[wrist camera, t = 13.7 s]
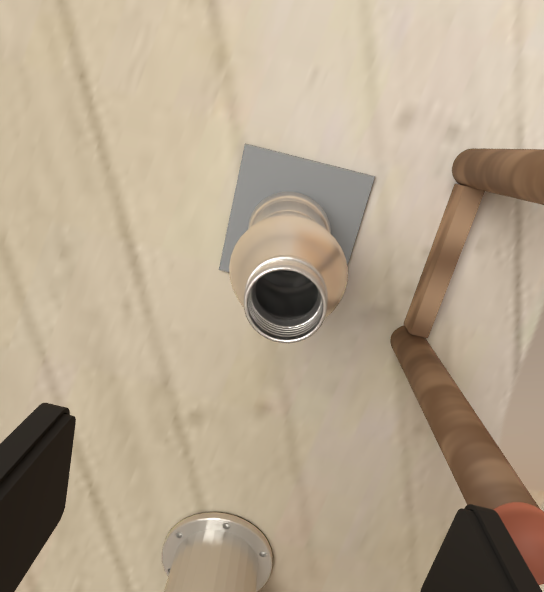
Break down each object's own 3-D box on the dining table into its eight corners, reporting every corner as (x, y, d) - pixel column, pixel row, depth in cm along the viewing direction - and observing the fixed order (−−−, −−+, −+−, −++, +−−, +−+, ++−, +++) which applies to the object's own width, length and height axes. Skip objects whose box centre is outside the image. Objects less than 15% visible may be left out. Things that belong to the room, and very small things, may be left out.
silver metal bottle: (272, 173, 37) (248, 202, 18) (343, 212, 38) (390, 279, 19) (238, 241, 39) (184, 330, 20) (305, 277, 40) (315, 395, 21)
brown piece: (417, 360, 42) (561, 611, 19) (383, 351, 42) (486, 594, 19) (498, 151, 36) (849, 161, 13) (458, 141, 36) (741, 133, 13)
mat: (336, 296, 41) (337, 298, 40) (219, 268, 41) (218, 269, 40) (373, 176, 37) (374, 176, 37) (245, 143, 37) (245, 143, 36)
